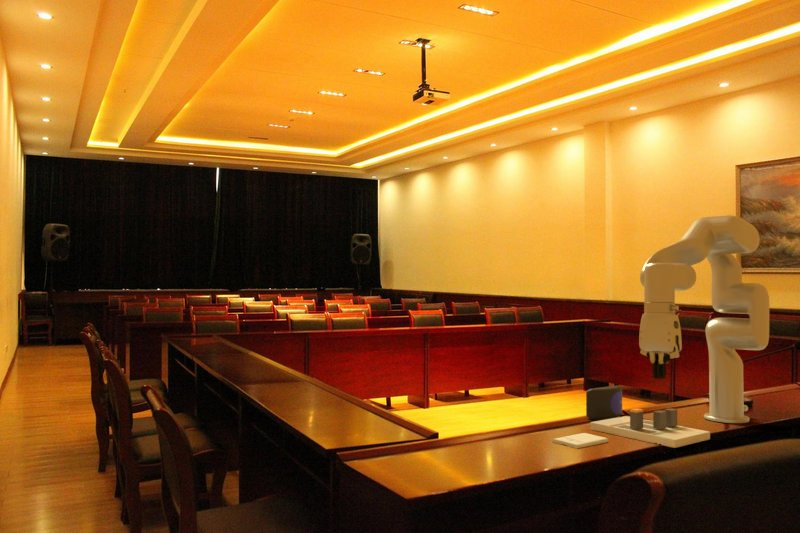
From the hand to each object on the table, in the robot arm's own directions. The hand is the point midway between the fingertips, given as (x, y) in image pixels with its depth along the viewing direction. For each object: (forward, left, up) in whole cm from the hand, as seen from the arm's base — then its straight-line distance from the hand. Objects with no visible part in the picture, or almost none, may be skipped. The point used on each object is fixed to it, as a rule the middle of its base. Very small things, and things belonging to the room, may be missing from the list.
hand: (659, 378), depth 172 cm
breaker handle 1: (-6, -3, -14) cm, 16 cm away
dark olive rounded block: (-16, -29, -17) cm, 37 cm away
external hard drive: (+18, -12, -18) cm, 28 cm away
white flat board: (-6, -7, -17) cm, 19 cm away
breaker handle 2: (-11, -3, -14) cm, 19 cm away
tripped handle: (0, -7, -14) cm, 16 cm away
